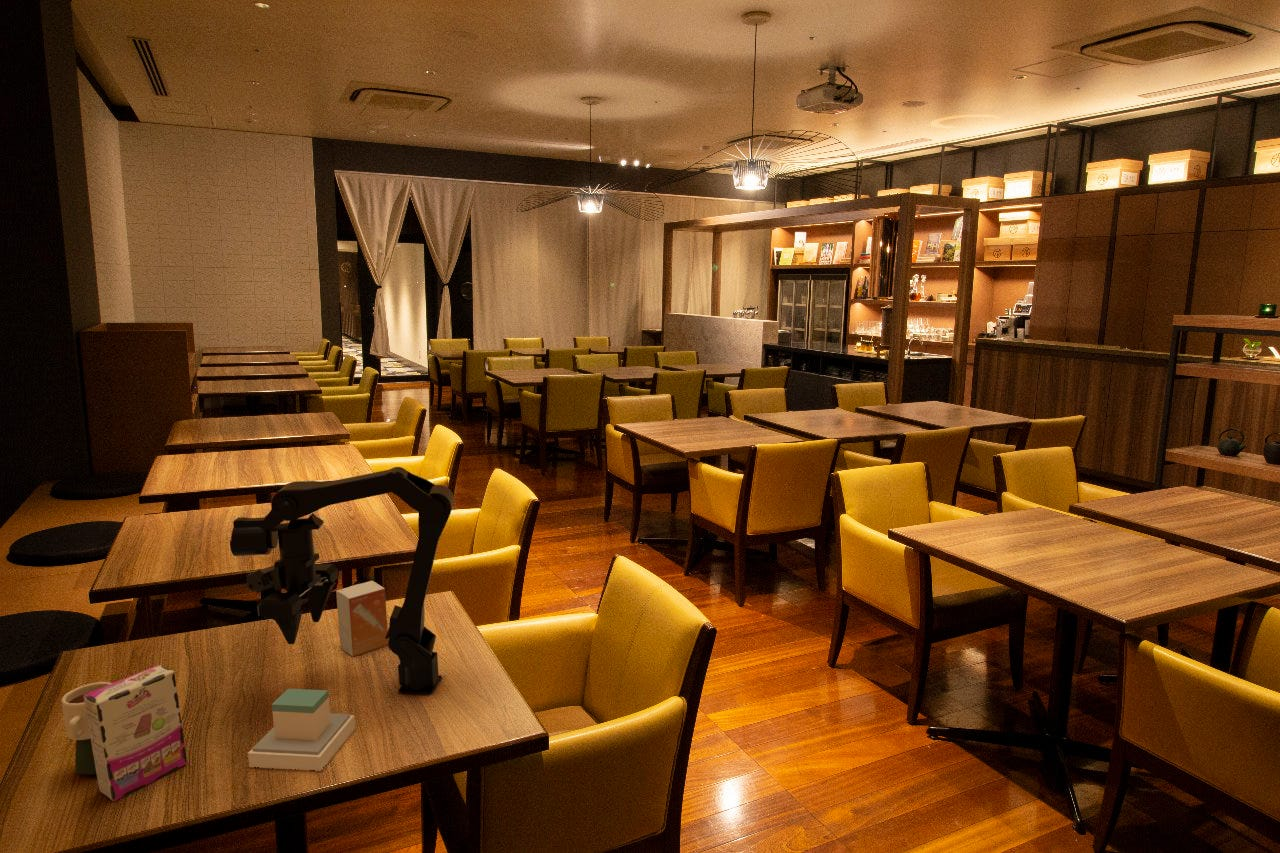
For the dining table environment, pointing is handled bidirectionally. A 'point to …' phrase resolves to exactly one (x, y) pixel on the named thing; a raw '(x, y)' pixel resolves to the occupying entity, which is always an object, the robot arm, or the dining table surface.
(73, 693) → the character mug
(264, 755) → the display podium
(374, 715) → the dining table surface
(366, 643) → the small box
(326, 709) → the cream carton
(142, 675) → the candy bar box
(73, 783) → the dining table surface
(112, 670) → the dining table surface
